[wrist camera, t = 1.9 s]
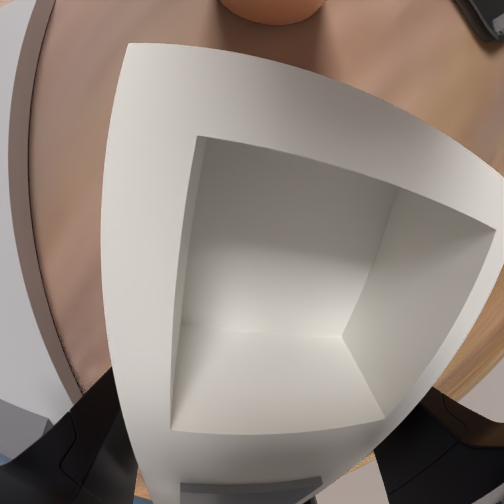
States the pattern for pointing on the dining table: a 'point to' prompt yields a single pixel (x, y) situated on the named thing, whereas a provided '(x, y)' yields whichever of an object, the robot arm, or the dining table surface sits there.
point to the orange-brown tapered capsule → (273, 10)
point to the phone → (485, 17)
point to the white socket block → (279, 270)
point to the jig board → (24, 252)
